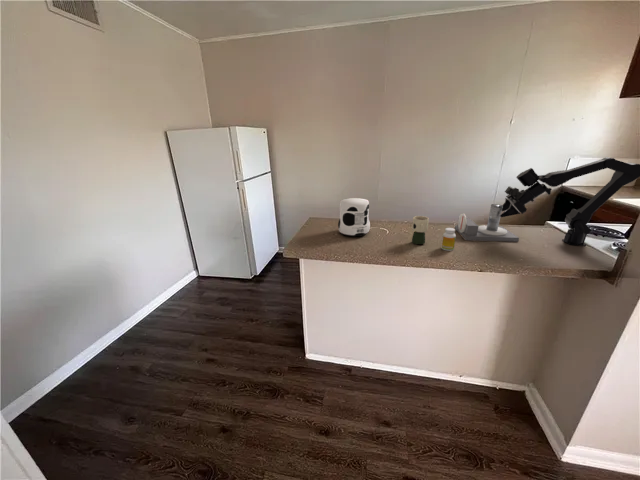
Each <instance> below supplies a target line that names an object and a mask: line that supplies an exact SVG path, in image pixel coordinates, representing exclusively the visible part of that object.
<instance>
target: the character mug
mask: <svg viewBox="0 0 640 480" xmlns="http://www.w3.org/2000/svg"><path fill="white" fill-rule="evenodd" d="M429 221H430V218H429V217H427V216H423V215H415V216H413V217H412V225H411V230H412V232H413V231H414V232H413V234H412V237H411V243H412V244H414V245H423V244H426V232H427V231H428V228H429Z"/></svg>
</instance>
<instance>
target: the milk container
mask: <svg viewBox="0 0 640 480" xmlns="http://www.w3.org/2000/svg"><path fill="white" fill-rule="evenodd" d="M369 212H370V201H369V200H368V199H366V198H359V197H351V198H350V197H349V198H344V199H341V200H340V201H339V219H338V222H337V227H338V228H337V229H338V232H339V233H341V234H342V235H345V236H348V237H360V236H361V237H362V236H365V235H367V234H368V233H369V231H370V229H371V223H370V216H369V215H370V213H369Z"/></svg>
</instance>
